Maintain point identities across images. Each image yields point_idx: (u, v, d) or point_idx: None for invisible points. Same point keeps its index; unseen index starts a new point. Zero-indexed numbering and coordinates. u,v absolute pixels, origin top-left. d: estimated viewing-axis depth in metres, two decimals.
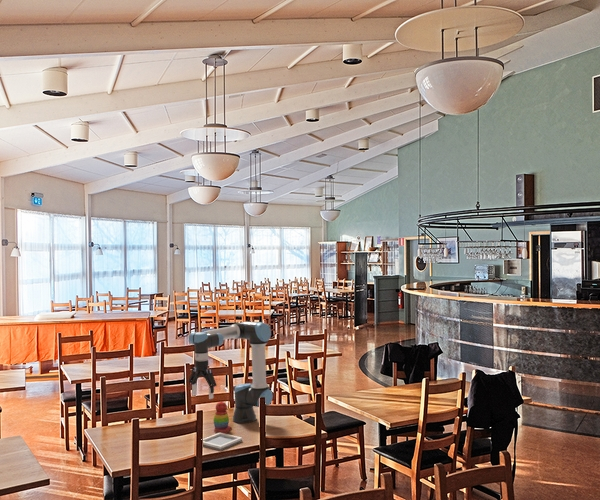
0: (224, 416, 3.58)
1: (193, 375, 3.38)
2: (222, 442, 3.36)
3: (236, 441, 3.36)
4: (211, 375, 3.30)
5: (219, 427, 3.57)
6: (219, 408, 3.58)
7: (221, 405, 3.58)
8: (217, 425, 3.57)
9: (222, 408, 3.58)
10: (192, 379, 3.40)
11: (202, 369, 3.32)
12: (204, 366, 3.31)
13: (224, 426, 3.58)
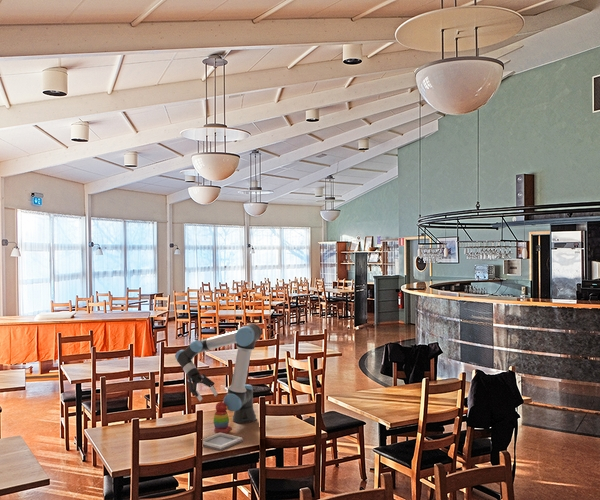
0: (224, 416, 3.58)
1: (206, 380, 3.77)
2: (222, 442, 3.36)
3: (236, 441, 3.36)
4: (189, 383, 3.66)
5: (219, 427, 3.57)
6: (219, 408, 3.58)
7: (221, 405, 3.58)
8: (217, 425, 3.57)
9: (222, 408, 3.58)
10: None
11: None
12: (189, 377, 3.72)
13: (224, 426, 3.58)
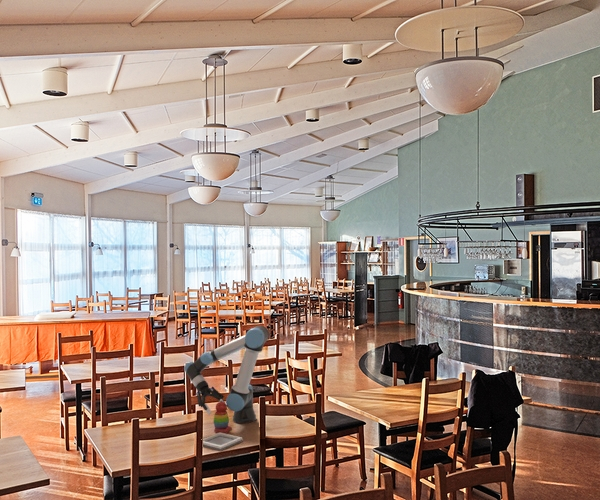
0: (224, 416, 3.58)
1: (216, 393, 3.72)
2: (222, 442, 3.36)
3: (236, 441, 3.36)
4: (198, 396, 3.61)
5: (219, 427, 3.57)
6: (219, 408, 3.58)
7: (221, 405, 3.58)
8: (217, 425, 3.57)
9: (222, 408, 3.58)
10: (221, 395, 3.72)
11: None
12: (198, 390, 3.67)
13: (224, 426, 3.58)
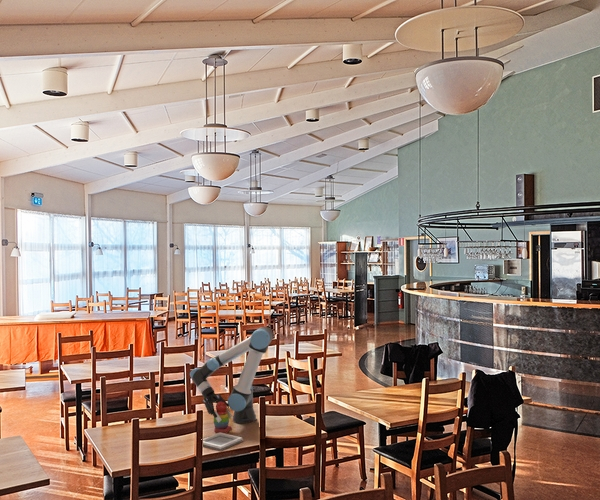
0: (224, 416, 3.58)
1: None
2: (222, 442, 3.36)
3: (236, 441, 3.36)
4: (206, 404, 3.59)
5: (219, 427, 3.57)
6: (219, 408, 3.58)
7: (221, 405, 3.58)
8: (217, 425, 3.57)
9: (222, 408, 3.58)
10: (226, 404, 3.68)
11: None
12: (203, 396, 3.64)
13: (224, 426, 3.58)
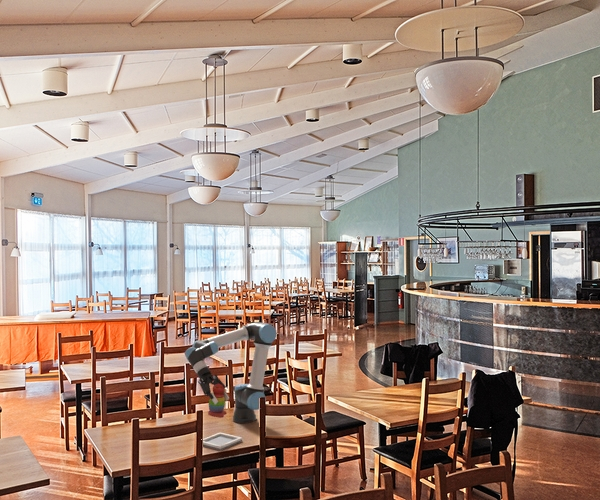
0: (221, 399, 3.36)
1: (218, 382, 3.46)
2: (222, 442, 3.36)
3: (236, 441, 3.36)
4: (201, 384, 3.37)
5: (214, 410, 3.35)
6: (217, 390, 3.36)
7: (219, 387, 3.37)
8: (213, 408, 3.35)
9: (220, 390, 3.36)
10: (223, 385, 3.45)
11: None
12: None
13: (220, 410, 3.36)
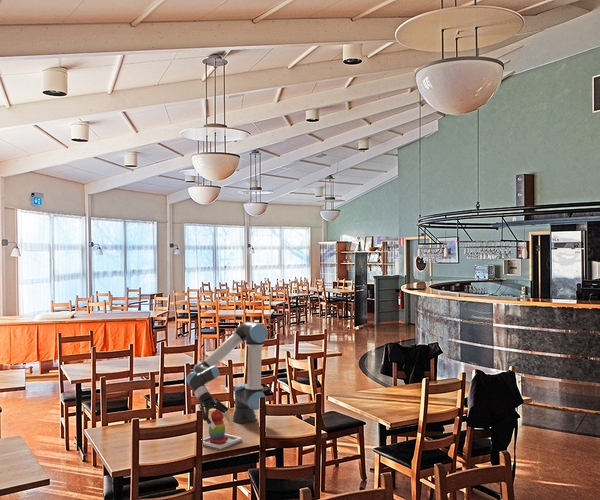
0: (221, 425, 3.36)
1: (220, 405, 3.48)
2: None
3: (236, 441, 3.36)
4: (201, 409, 3.36)
5: (215, 437, 3.35)
6: (215, 417, 3.35)
7: (217, 414, 3.36)
8: (213, 435, 3.35)
9: (219, 417, 3.36)
10: (225, 407, 3.48)
11: None
12: (200, 402, 3.42)
13: (221, 436, 3.36)
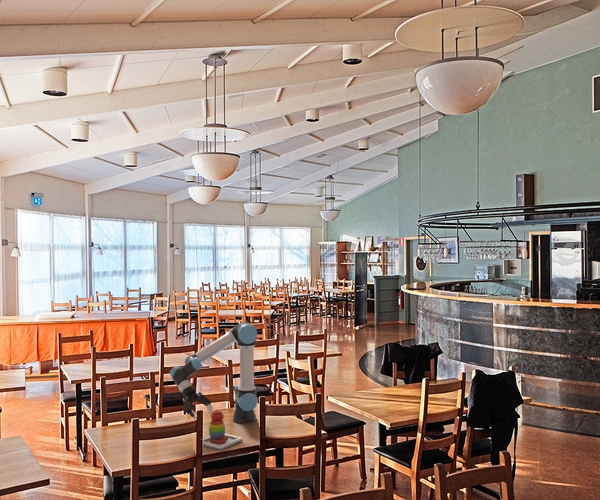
0: (221, 425, 3.36)
1: (203, 399, 3.57)
2: None
3: (236, 441, 3.36)
4: (184, 402, 3.45)
5: (215, 437, 3.35)
6: (215, 417, 3.35)
7: (217, 414, 3.36)
8: (213, 435, 3.35)
9: (219, 417, 3.36)
10: None
11: None
12: (184, 395, 3.51)
13: (221, 436, 3.36)
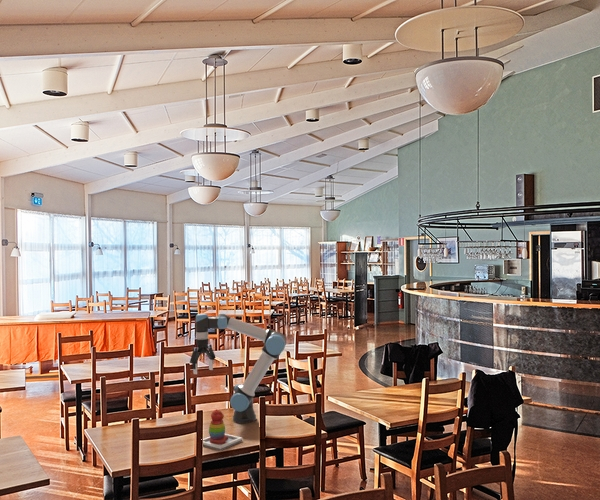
0: (221, 425, 3.36)
1: (210, 351, 3.75)
2: None
3: (236, 441, 3.36)
4: (193, 353, 3.63)
5: (215, 437, 3.35)
6: (215, 417, 3.35)
7: (217, 414, 3.36)
8: (213, 435, 3.35)
9: (219, 417, 3.36)
10: None
11: None
12: (197, 344, 3.67)
13: (221, 436, 3.36)
